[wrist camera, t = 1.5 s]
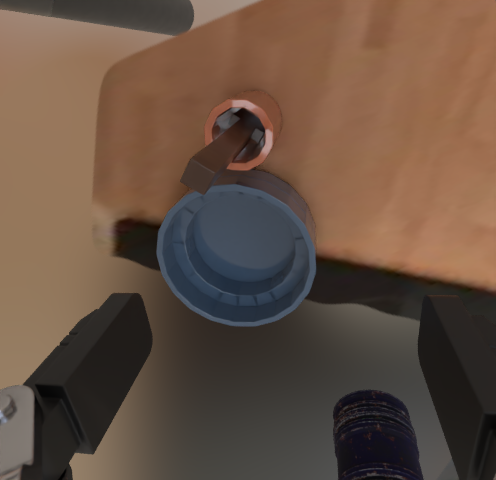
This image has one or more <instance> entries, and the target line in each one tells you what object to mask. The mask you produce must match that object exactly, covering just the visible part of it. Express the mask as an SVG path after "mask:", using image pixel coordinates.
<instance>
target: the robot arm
mask: <svg viewBox="0 0 496 480" xmlns="http://www.w3.org/2000/svg"><path fill="white" fill-rule="evenodd" d="M151 348H152V332H151V328H150V324H149V321H148V317H147V313H146V310H145V306H144V302H143V299H142V297H141V295H140V294H138V293H113V294H111V295H110V296H109V298H108V299H107V300H106V301H105V302H104V303H103V305H102V306H101V307H100V308H99V309H96V310H94V311H93V312H91V313H90V314H89V315H87V316H86V317H84V318H83V319H81V320H80V321H79V322H78V323H77V324H76V326H75V327H74V328H73V329H72V330H71V331H70V332H69V335H67V336H66V337H65V338H64V339H63V340H62V341H61V342H60V346H57V347H56V348H55V349H54V350H53V351H52V352H51V354H50V355H49V356H48V357H47V358H46V359H45V360H44V361H43V362H42V364H41V365H40V366H39V367H38V368H37V369H36V371H34V373H33V374H32V375H31V376H30V377H29V378H28V379H27V380H26V382H25V383H24V384H23V385H15V386H11V387H7V388H4V389H1V390H0V480H73V478H72V469H71V467H70V465H69V462H70V460H71V459H72V457H73V455H74V453H84V454H94V453H95V451H96V449H97V447H98V445H99V444H100V442H101V440H102V438H103V436H104V435H105V433H106V431H107V429H108V428H109V426H110V424H111V422H112V420H113V418H114V416H115V415H116V413H117V411H118V410H119V408H120V406H121V404H122V402H123V401H124V399H125V397H126V395H127V393H128V392H129V390H130V388H131V386H132V384H133V383H134V381H135V379H136V377H137V376H138V374H139V372H140V370H141V368H142V367H143V365H144V363H145V361H146V359H147V357H148V356H149V354H150V351H151ZM418 355H419V360H420V365H421V368H422V371H423V374H424V377H425V380H426V383H427V385H428V389H429V392H430V395H431V397H432V401H433V403H434V406H435V409H436V412H437V415H438V418H439V421H440V424H441V427H442V430H443V432H444V436H445V439H446V442H447V444H448V447H449V450H450V453H451V456H452V459H453V462H454V465H455V468H456V471H457V474H458V477H459V479H460V480H496V325H494V324H493V323H492V322H490V321H489V320H488V319H486V318H485V317H484V316H470V314H469V312H468V311H467V309H466V307H465V306H464V304H463V302H462V301H461V299H460V298H459V297H458V296H454V295H426V296H425V297H424V299H423V304H422V312H421V320H420V329H419V337H418Z"/></svg>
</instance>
